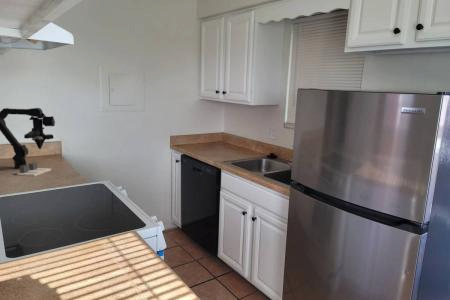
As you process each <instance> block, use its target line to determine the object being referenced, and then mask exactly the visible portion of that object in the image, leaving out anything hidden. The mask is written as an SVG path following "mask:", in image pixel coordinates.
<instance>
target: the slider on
mask: <svg viewBox="0 0 450 300" xmlns="http://www.w3.org/2000/svg"><path fill="white" fill-rule="evenodd" d="M28 167H29V170H34V169H37V168H38V162H35V161H33V162H29V163H28Z"/></svg>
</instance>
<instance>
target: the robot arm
mask: <svg viewBox="0 0 450 300" xmlns="http://www.w3.org/2000/svg"><path fill="white" fill-rule="evenodd" d="M9 115H24V116H25V115H26V116H30V118H28V120H29V121H32V127H31V130H30V131H28V132H27V133H24V135H23V136H24V137H23V139H31V140H32V141H33V142H35V144H36V146H37V148H38V150H41V149H42V147H43V146H44V145H43V144H44V143H45V141H46V140H51V139H54V134H48V133H47V134H46V133H44V129H45V127H55V125H56V121H55V118H54V116H47V115H45V113H43V110H42V108H40V107H34V108H8V107H7V108H2V109H1V110H0V132H1V134H2V136H4V138H6V140H7V141H8V142H9V144H10V145H11V146H12V149H13V152H14V156H12V161H13V164H14V167H13V170H20V166H22V165H27V161H26V157H27V156H29V148H28V147H27V146H26V145H25V144H21V143H20V142H19V141H18V139H17V138H16V137H15V135H14V134H13V133H12V132H11V130H10V129H9V128H8V126H7V124H6V120H5V119H6V118H7V117H8V116H9Z"/></svg>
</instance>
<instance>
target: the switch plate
mask: <svg viewBox="0 0 450 300" xmlns="http://www.w3.org/2000/svg"><path fill="white" fill-rule="evenodd" d="M50 171H52V168H49V167H48V168H43V167H37V169H34V170H30V169H29V171H28V172H25V173H23V172H20V171H19V172H17V174H16V175H17V176H28V177H36V176H39V175H42V174H44V173H48V172H50Z"/></svg>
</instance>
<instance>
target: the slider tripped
mask: <svg viewBox="0 0 450 300" xmlns="http://www.w3.org/2000/svg"><path fill="white" fill-rule="evenodd" d="M29 170H30V169H29V164H26V165H22V166H20V169H19V173H20V172H23V173H25V172H28V171H29Z"/></svg>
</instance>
